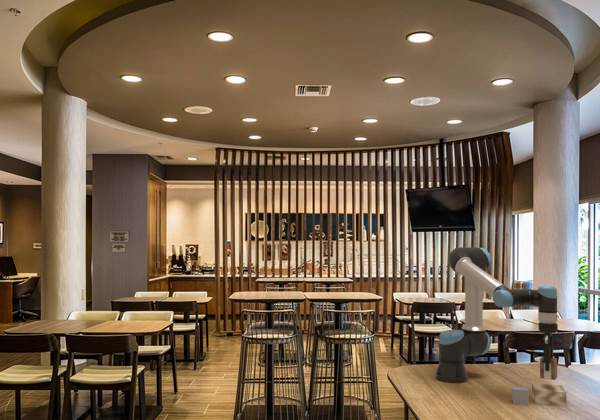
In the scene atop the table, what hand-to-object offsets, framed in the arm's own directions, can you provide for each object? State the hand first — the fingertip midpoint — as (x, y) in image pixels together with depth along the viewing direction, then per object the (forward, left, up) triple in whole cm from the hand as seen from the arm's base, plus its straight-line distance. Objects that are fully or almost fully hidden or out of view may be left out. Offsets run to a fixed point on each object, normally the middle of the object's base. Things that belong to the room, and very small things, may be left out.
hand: (548, 376), depth 243 cm
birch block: (0, 0, -10) cm, 10 cm away
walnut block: (0, 0, 0) cm, 0 cm away
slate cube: (-10, -9, -10) cm, 17 cm away
